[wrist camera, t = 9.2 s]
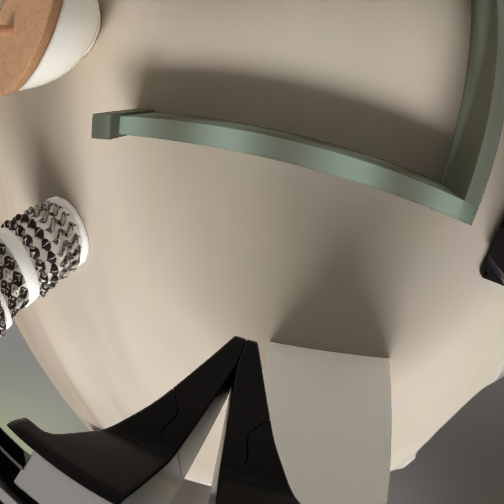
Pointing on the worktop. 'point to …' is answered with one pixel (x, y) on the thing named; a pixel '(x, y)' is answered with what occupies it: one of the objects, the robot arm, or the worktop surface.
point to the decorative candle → (38, 254)
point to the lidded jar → (44, 40)
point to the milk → (330, 423)
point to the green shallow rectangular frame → (357, 164)
